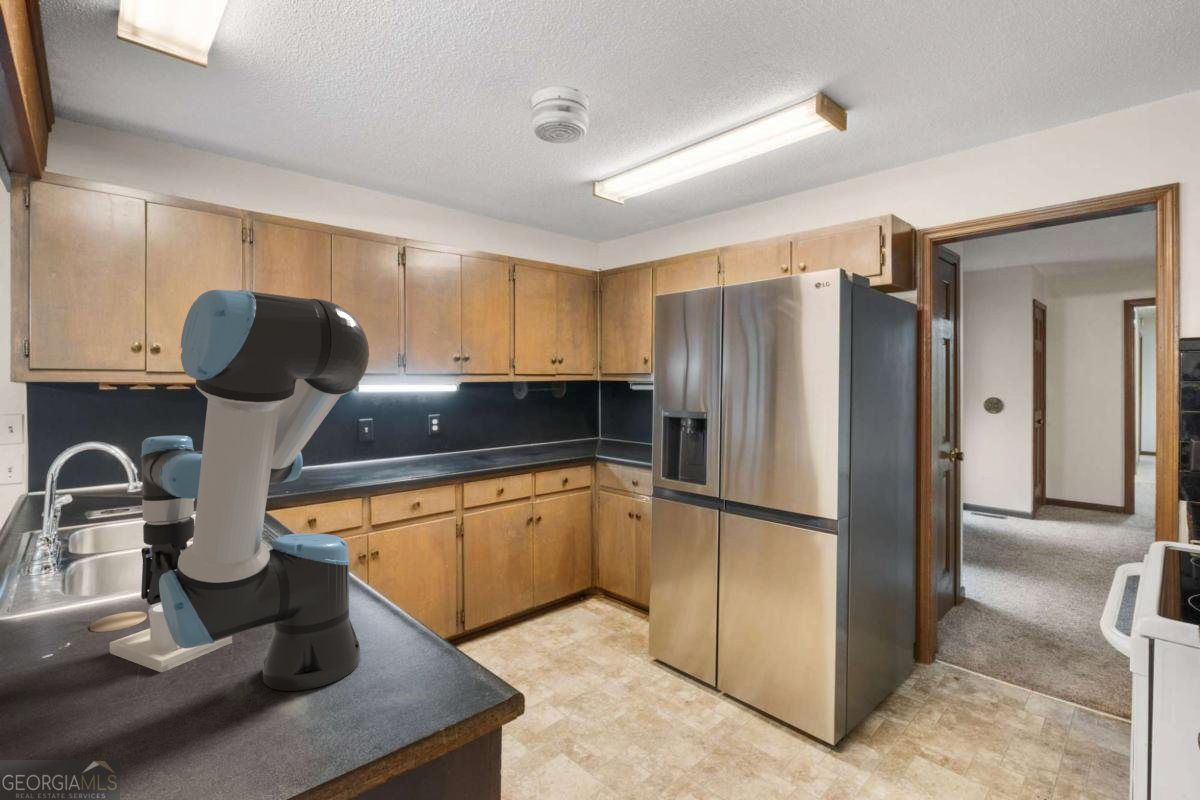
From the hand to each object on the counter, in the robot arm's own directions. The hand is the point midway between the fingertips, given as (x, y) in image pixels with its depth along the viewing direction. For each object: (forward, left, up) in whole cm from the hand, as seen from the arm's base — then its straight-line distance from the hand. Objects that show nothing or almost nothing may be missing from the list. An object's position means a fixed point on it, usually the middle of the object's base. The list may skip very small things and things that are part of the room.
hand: (171, 640), depth 105 cm
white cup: (0, 0, 0) cm, 0 cm away
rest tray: (0, 0, -1) cm, 1 cm away
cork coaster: (+22, -2, -2) cm, 22 cm away
